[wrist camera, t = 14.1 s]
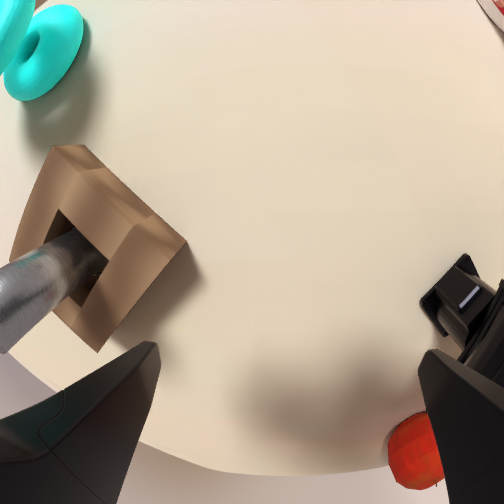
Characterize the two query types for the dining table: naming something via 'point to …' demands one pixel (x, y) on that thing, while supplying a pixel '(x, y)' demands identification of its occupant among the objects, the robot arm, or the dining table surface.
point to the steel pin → (43, 282)
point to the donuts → (36, 35)
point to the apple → (415, 454)
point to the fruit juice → (494, 11)
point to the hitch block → (96, 238)
